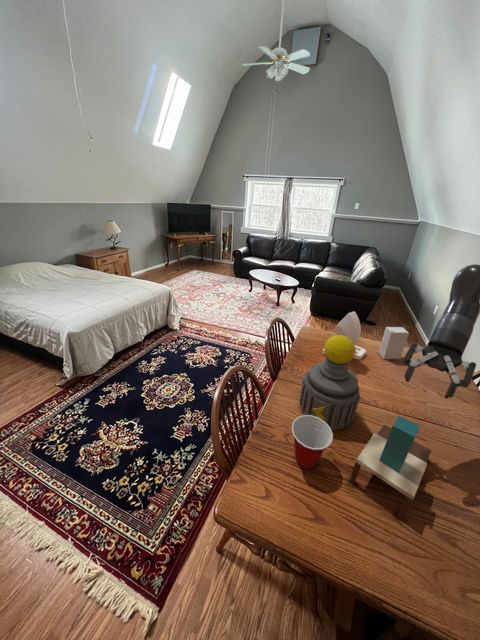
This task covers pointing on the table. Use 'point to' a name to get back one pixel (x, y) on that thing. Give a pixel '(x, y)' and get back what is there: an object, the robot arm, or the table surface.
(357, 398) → the decorative lamp
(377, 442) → the cream miniature table
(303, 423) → the plastic cup
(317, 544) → the table surface
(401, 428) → the teal rectangular block
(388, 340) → the cosmetic box
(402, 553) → the table surface
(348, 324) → the jewelry stand
